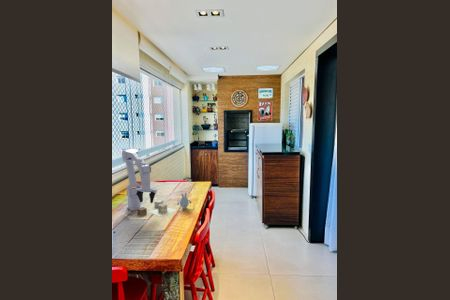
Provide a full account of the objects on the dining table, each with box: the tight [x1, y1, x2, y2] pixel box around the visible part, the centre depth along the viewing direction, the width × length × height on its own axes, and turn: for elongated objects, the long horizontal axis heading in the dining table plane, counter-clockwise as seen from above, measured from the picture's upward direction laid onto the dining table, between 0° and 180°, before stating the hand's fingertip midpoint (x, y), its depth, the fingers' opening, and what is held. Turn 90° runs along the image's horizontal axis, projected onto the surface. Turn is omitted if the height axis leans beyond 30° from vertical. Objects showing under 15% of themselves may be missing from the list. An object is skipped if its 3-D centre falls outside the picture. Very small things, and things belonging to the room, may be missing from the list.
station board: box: [148, 206, 177, 217], centre depth 168 cm, size 14×14×1 cm
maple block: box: [157, 202, 168, 213], centre depth 167 cm, size 4×4×4 cm
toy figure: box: [176, 192, 193, 210], centre depth 171 cm, size 11×6×12 cm, turn 113°
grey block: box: [153, 199, 164, 208], centre depth 178 cm, size 4×4×4 cm
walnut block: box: [136, 206, 148, 216], centre depth 163 cm, size 4×4×4 cm
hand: (146, 202), depth 160 cm, fingers open, 7 cm apart
